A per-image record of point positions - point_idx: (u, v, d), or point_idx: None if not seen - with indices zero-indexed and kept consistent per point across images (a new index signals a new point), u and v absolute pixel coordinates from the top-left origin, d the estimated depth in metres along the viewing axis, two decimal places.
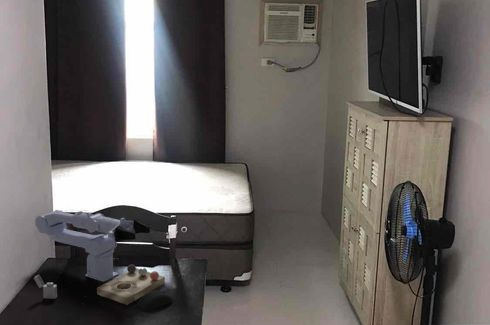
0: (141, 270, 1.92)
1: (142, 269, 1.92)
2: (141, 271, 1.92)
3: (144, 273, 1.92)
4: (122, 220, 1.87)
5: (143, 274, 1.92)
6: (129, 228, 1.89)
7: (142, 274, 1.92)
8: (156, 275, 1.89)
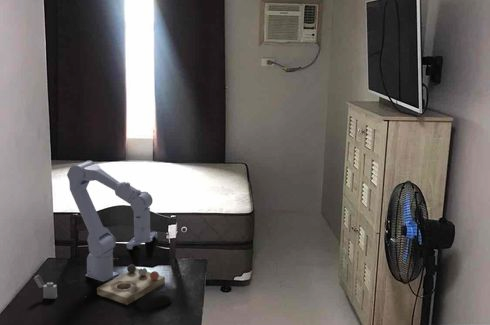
0: (141, 270, 1.92)
1: (142, 269, 1.92)
2: (141, 271, 1.92)
3: (144, 273, 1.92)
4: None
5: (143, 274, 1.92)
6: None
7: (142, 274, 1.92)
8: (156, 275, 1.89)
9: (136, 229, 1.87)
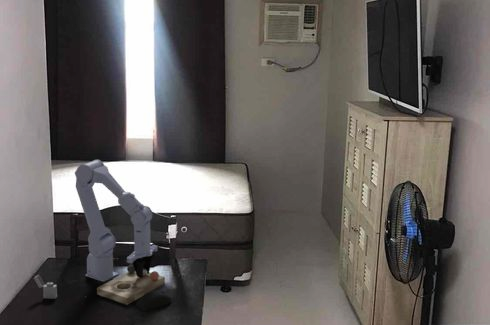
0: None
1: None
2: None
3: (144, 273, 1.92)
4: None
5: (143, 274, 1.92)
6: None
7: None
8: (156, 275, 1.89)
9: (136, 243, 1.88)
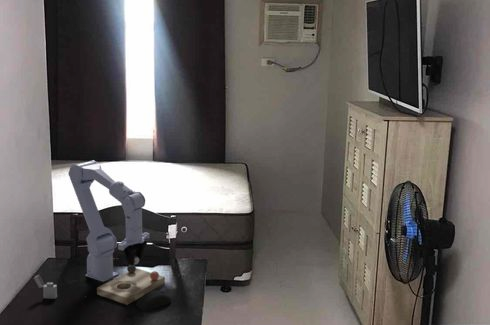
0: None
1: None
2: None
3: (136, 261, 1.87)
4: None
5: (135, 262, 1.87)
6: None
7: (134, 262, 1.87)
8: (156, 275, 1.89)
9: (128, 230, 1.83)
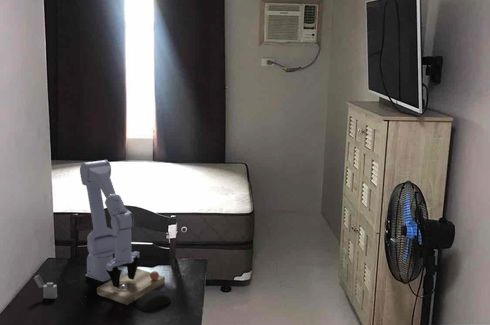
0: (120, 288, 1.83)
1: (122, 287, 1.84)
2: (121, 289, 1.83)
3: None
4: None
5: None
6: None
7: None
8: (156, 275, 1.89)
9: (116, 250, 1.79)
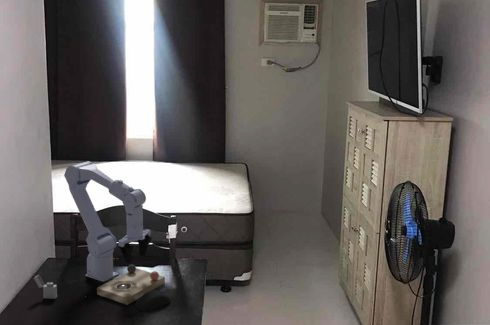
0: None
1: (121, 288, 1.83)
2: None
3: None
4: None
5: None
6: None
7: None
8: (156, 275, 1.89)
9: (128, 226, 1.85)
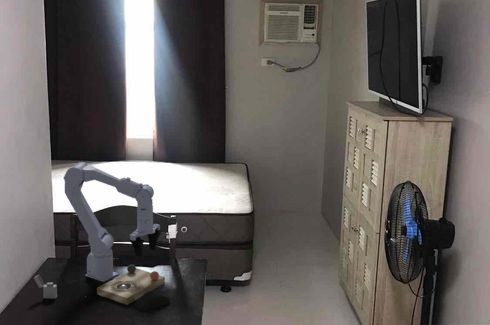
0: None
1: (121, 287, 1.83)
2: None
3: None
4: None
5: None
6: None
7: None
8: (156, 275, 1.89)
9: (139, 221, 1.91)
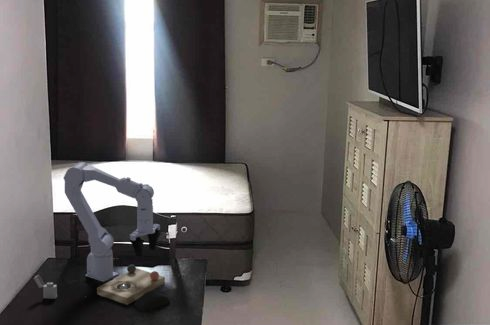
0: (121, 288, 1.83)
1: (122, 287, 1.84)
2: (121, 289, 1.83)
3: None
4: None
5: None
6: None
7: None
8: (156, 275, 1.89)
9: (139, 221, 1.91)
